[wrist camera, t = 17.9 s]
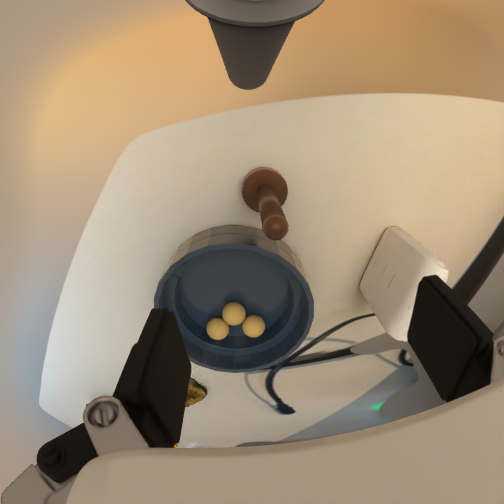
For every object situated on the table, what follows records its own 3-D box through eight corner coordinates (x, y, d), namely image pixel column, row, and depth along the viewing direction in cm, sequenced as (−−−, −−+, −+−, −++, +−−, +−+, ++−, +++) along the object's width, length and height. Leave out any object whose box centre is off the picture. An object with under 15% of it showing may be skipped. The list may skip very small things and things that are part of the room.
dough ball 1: (222, 310, 39) (217, 321, 36) (235, 326, 39) (231, 338, 36) (204, 319, 39) (199, 330, 36) (217, 335, 40) (213, 347, 37)
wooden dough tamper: (241, 167, 31) (238, 198, 19) (285, 166, 31) (313, 195, 19) (243, 209, 33) (242, 265, 20) (285, 207, 33) (310, 262, 21)
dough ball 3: (255, 345, 38) (235, 334, 38) (262, 328, 40) (243, 318, 40) (264, 334, 36) (243, 323, 36) (271, 317, 38) (251, 306, 38)
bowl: (151, 233, 34) (135, 254, 29) (302, 215, 34) (312, 234, 28) (183, 346, 42) (176, 375, 36) (305, 335, 41) (312, 364, 36)
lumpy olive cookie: (201, 365, 45) (121, 366, 45) (198, 384, 40) (112, 383, 41) (212, 402, 48) (137, 402, 48) (210, 421, 43) (131, 419, 44)
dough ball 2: (237, 317, 39) (245, 299, 38) (244, 331, 37) (252, 312, 36) (217, 314, 38) (223, 296, 37) (222, 328, 35) (229, 309, 34)
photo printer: (386, 220, 34) (438, 263, 23) (410, 230, 35) (463, 274, 24) (353, 288, 38) (387, 348, 27) (377, 294, 39) (414, 352, 28)
